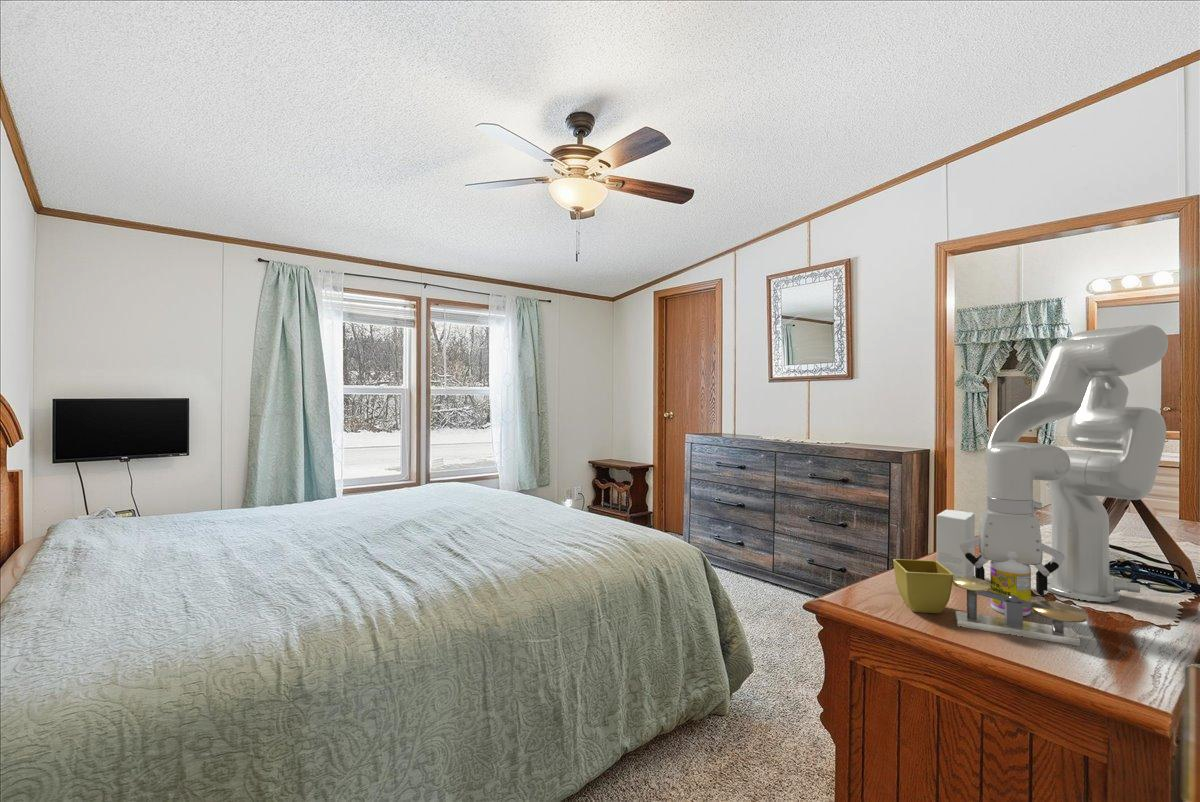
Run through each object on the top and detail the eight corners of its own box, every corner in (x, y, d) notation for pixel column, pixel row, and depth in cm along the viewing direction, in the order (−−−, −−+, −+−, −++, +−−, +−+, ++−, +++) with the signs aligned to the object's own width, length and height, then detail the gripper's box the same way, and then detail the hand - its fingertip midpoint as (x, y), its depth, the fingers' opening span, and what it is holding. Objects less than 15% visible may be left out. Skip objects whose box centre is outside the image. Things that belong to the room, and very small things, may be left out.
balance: (1080, 633, 100) (1080, 589, 100) (1093, 651, 93) (1093, 604, 93) (952, 613, 110) (951, 573, 110) (955, 628, 103) (954, 585, 103)
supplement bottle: (982, 605, 114) (981, 544, 114) (1011, 603, 115) (1011, 543, 115) (1009, 618, 108) (1008, 553, 107) (1040, 616, 108) (1039, 552, 108)
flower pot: (955, 619, 108) (954, 573, 108) (906, 616, 110) (906, 571, 109) (936, 602, 116) (936, 560, 116) (892, 599, 118) (892, 558, 118)
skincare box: (946, 570, 137) (945, 508, 137) (977, 576, 132) (976, 512, 132) (935, 578, 131) (934, 513, 131) (967, 584, 126) (966, 518, 126)
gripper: (1059, 506, 110) (1060, 590, 110) (957, 499, 119) (958, 577, 119) (1069, 513, 103) (1069, 603, 104) (960, 506, 112) (961, 588, 112)
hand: (1010, 589), depth 111 cm, fingers open, 9 cm apart
